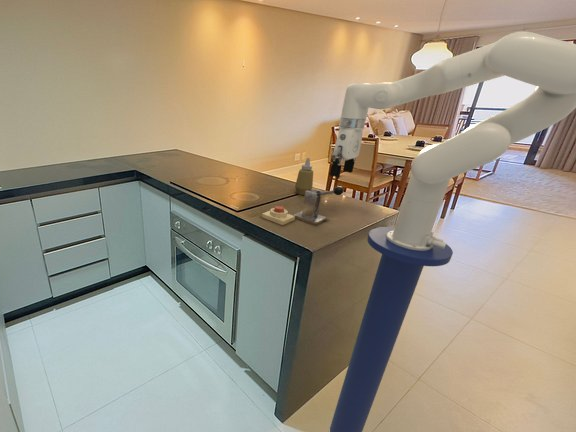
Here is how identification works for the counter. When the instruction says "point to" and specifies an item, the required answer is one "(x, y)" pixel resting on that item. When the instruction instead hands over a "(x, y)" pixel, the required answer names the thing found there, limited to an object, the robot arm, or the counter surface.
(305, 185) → the squeeze bottle
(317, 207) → the bracket
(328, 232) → the counter surface
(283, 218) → the control block
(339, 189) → the lever
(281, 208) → the button
